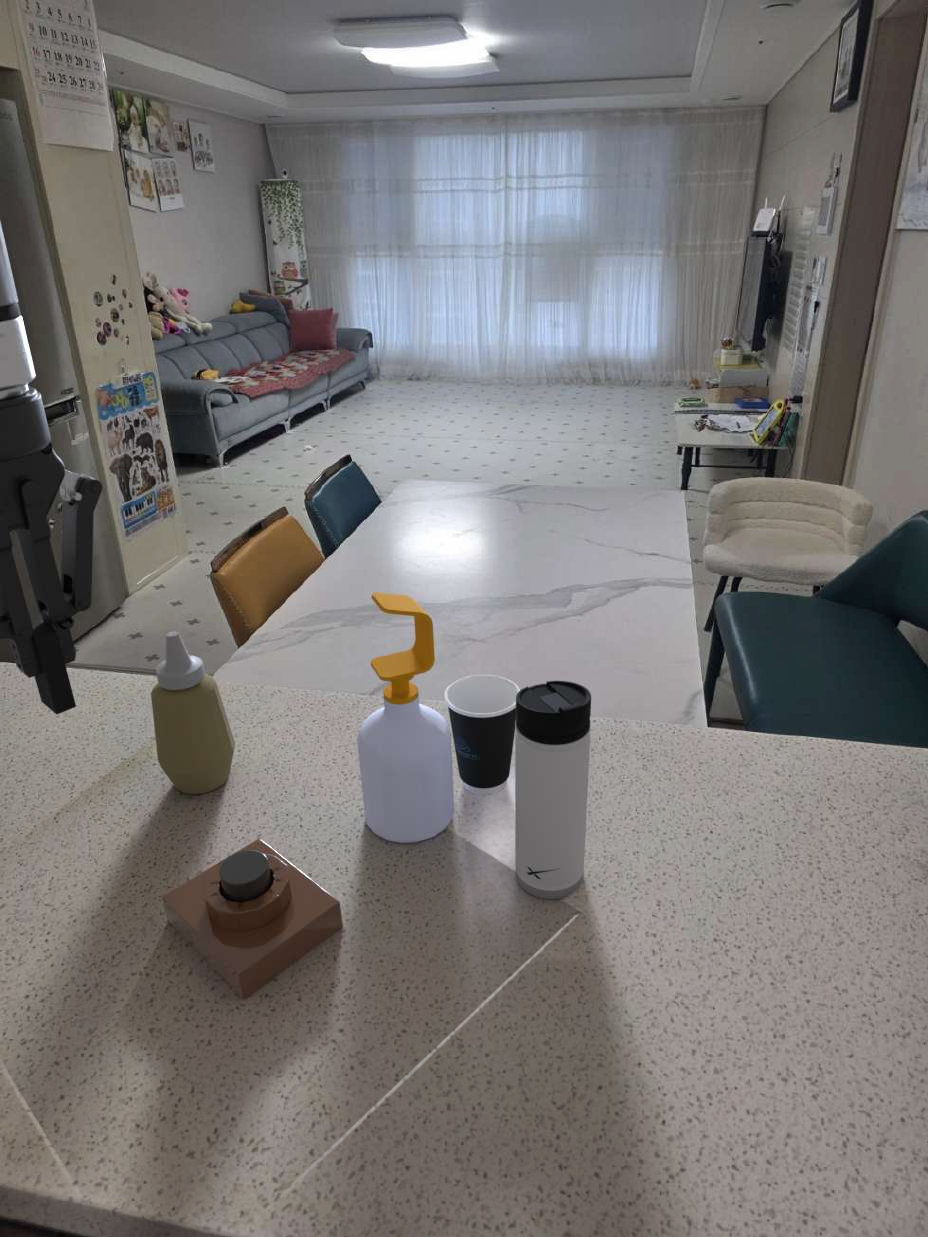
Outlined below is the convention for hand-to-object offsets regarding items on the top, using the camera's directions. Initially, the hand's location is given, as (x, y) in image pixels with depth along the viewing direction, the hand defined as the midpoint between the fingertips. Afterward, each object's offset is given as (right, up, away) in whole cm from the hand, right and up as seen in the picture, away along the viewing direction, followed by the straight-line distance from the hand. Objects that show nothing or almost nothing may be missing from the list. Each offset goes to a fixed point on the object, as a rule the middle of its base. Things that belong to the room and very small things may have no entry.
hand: (58, 703), depth 63 cm
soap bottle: (+25, -14, +21) cm, 36 cm away
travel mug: (+39, -17, +13) cm, 45 cm away
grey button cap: (+13, -16, +7) cm, 22 cm away
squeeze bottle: (+2, -11, +28) cm, 30 cm away
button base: (+13, -20, +9) cm, 25 cm away
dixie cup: (+33, -11, +26) cm, 44 cm away
